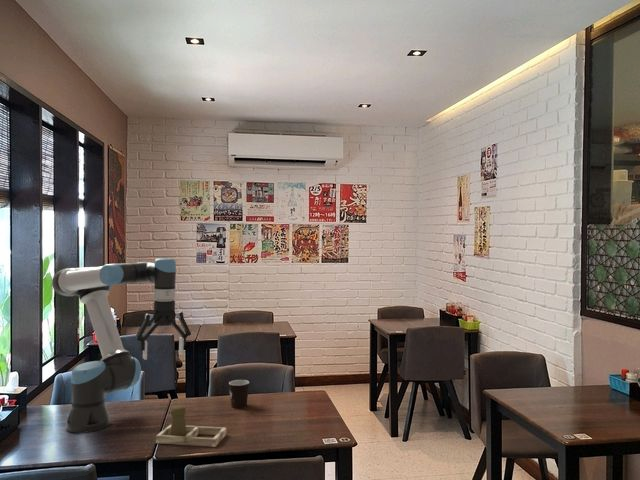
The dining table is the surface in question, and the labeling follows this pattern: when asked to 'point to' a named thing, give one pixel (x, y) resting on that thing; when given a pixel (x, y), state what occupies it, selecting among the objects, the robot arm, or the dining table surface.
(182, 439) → the condiment rack
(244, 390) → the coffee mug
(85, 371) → the robot arm
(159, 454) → the dining table surface
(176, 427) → the olive condiment shaker
